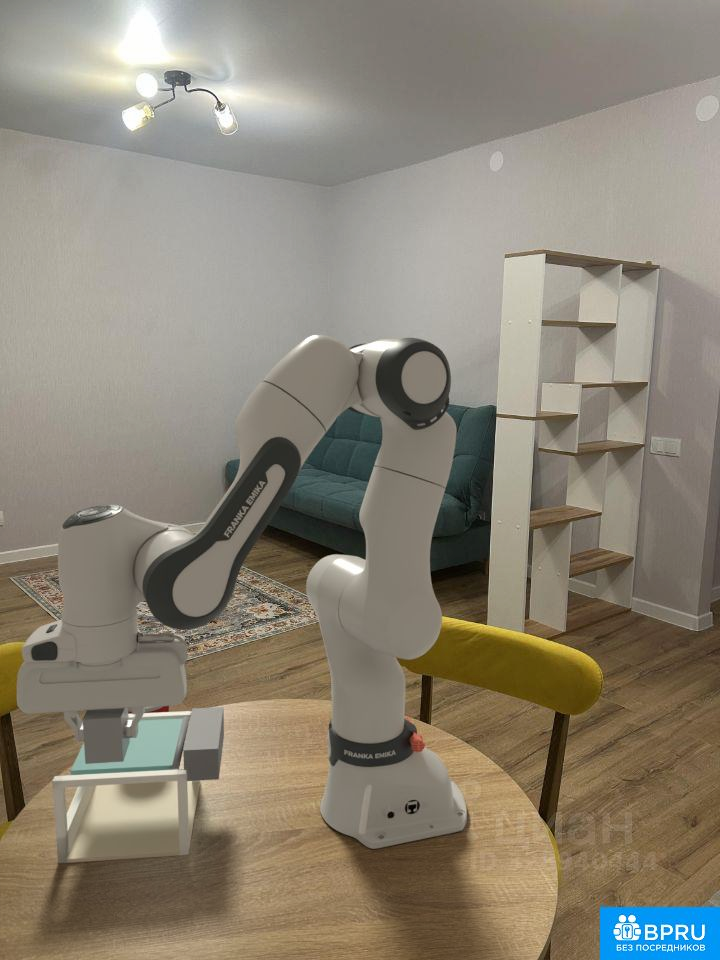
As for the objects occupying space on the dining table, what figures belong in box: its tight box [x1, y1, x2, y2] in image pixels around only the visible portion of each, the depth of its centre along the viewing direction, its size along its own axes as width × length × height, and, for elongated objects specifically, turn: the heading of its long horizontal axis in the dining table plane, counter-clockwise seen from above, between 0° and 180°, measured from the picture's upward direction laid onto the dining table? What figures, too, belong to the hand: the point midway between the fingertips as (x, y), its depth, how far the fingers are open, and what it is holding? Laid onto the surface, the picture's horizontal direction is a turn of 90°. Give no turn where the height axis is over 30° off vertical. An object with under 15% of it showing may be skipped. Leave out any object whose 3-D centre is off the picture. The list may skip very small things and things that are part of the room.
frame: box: [51, 710, 201, 864], centre depth 109 cm, size 18×18×12 cm
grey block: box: [82, 708, 130, 764], centre depth 94 cm, size 5×5×6 cm
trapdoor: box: [70, 706, 225, 781], centre depth 109 cm, size 20×14×5 cm
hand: (107, 737), depth 94 cm, fingers closed on grey block, 5 cm apart
